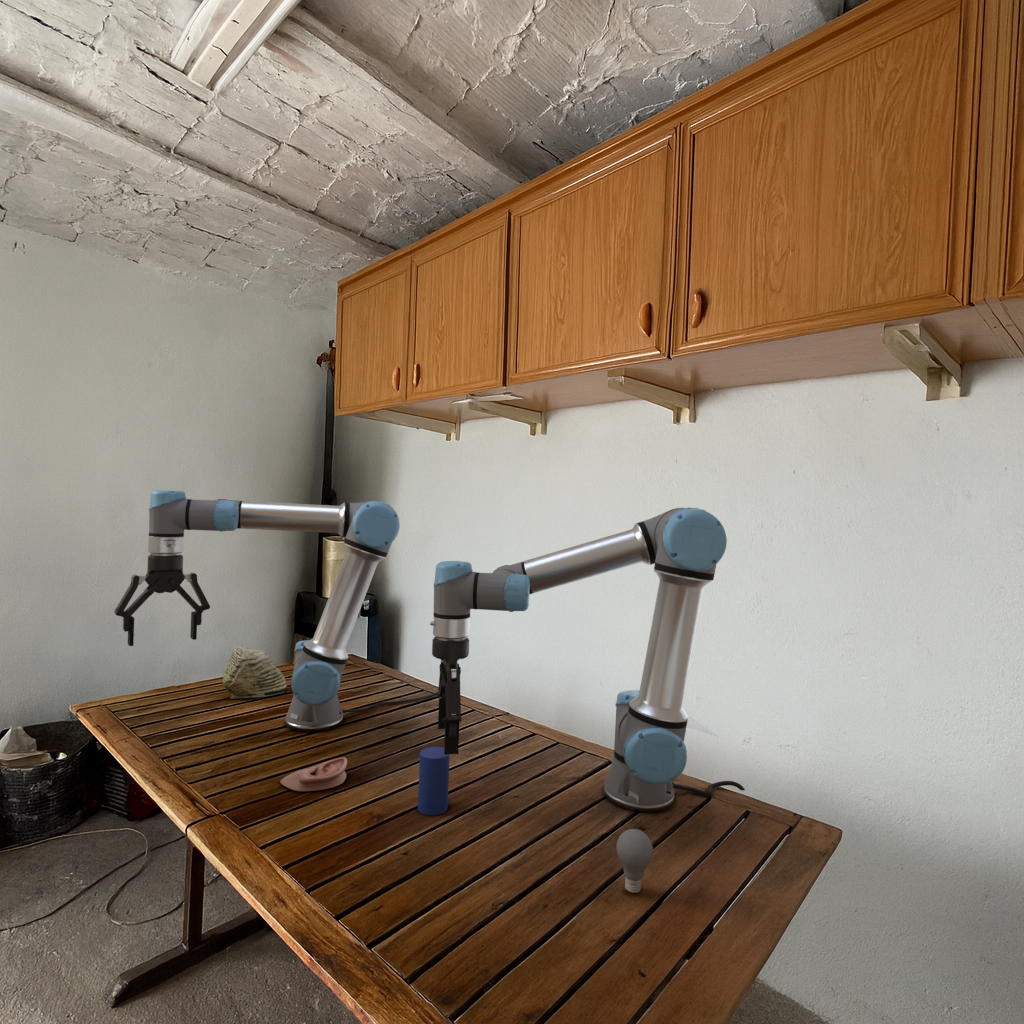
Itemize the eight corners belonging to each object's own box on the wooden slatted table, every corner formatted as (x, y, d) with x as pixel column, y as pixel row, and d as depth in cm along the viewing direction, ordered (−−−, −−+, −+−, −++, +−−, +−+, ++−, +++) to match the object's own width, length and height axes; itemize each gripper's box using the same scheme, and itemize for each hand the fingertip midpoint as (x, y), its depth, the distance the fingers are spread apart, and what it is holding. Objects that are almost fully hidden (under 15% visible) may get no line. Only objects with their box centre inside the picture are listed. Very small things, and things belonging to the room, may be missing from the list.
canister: (425, 798, 135) (428, 744, 135) (452, 804, 133) (454, 749, 133) (412, 811, 129) (414, 755, 129) (439, 817, 127) (442, 760, 127)
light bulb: (610, 879, 108) (613, 822, 108) (644, 879, 109) (647, 822, 109) (619, 902, 102) (622, 840, 102) (655, 901, 103) (658, 840, 103)
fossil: (218, 695, 195) (220, 647, 195) (278, 685, 208) (279, 640, 207) (228, 703, 189) (230, 653, 188) (289, 692, 201) (290, 645, 201)
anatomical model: (273, 769, 136) (301, 749, 148) (272, 787, 136) (300, 766, 148) (329, 777, 134) (353, 756, 145) (329, 796, 134) (353, 773, 145)
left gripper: (107, 556, 142) (104, 651, 142) (225, 554, 158) (222, 639, 158) (102, 553, 147) (99, 644, 148) (216, 551, 164) (213, 633, 164)
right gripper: (428, 625, 141) (425, 719, 141) (438, 652, 116) (434, 766, 117) (461, 624, 142) (458, 718, 143) (478, 651, 118) (474, 764, 118)
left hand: (162, 641), depth 153 cm, fingers open, 13 cm apart
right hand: (447, 740), depth 130 cm, fingers open, 13 cm apart
